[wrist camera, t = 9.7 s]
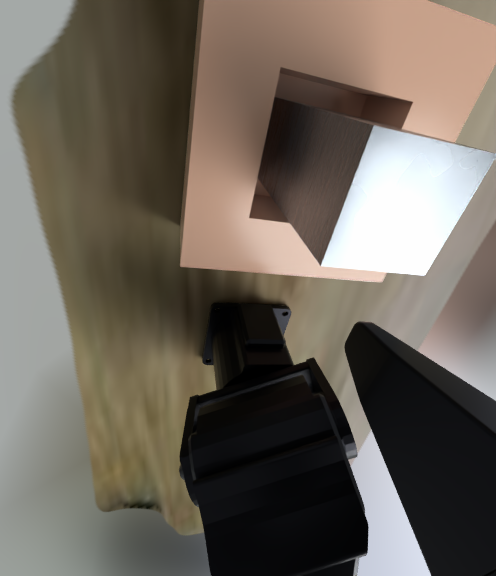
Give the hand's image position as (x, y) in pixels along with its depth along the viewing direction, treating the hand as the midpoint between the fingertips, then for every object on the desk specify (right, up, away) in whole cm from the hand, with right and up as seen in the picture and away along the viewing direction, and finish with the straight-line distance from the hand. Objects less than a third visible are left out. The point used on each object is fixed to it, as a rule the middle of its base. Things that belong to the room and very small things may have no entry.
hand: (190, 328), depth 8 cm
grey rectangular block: (+4, +9, +10) cm, 14 cm away
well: (+4, +9, +10) cm, 15 cm away
